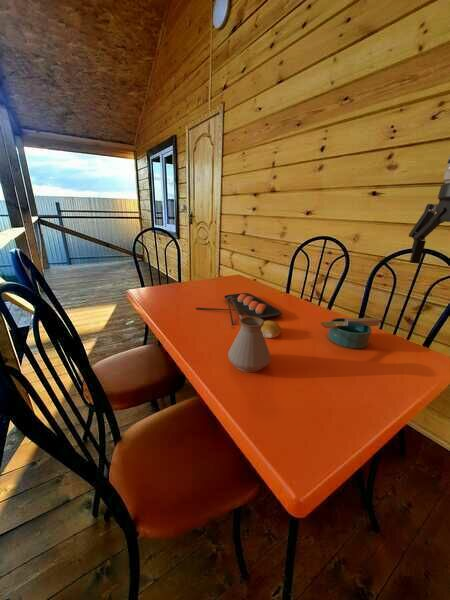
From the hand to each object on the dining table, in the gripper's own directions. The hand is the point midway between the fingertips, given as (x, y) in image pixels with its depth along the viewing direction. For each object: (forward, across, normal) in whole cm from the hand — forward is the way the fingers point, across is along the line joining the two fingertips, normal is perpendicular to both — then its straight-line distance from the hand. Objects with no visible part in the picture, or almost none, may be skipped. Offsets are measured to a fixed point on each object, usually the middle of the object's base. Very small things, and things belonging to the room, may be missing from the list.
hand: (435, 267), depth 69 cm
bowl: (+26, -9, -15) cm, 32 cm away
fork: (+21, -9, -15) cm, 27 cm away
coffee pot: (+27, -3, -52) cm, 58 cm away
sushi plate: (+26, -38, -48) cm, 67 cm away
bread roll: (+27, -16, -40) cm, 51 cm away
